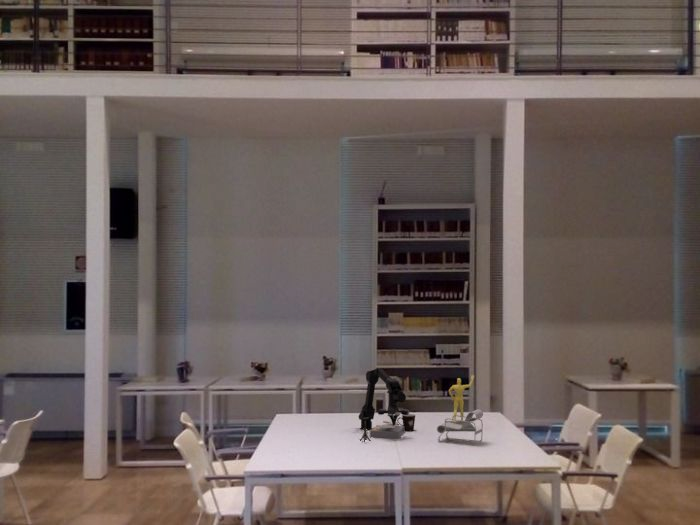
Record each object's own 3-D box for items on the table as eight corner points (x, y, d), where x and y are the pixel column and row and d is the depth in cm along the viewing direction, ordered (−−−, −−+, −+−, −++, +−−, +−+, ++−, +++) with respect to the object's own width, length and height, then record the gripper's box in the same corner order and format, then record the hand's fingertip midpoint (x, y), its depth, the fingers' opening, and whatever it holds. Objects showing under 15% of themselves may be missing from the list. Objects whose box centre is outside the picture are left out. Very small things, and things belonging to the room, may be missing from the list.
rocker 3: (382, 422, 515) (383, 420, 515) (384, 421, 519) (384, 419, 519) (398, 425, 512) (398, 423, 512) (399, 424, 516) (399, 422, 516)
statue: (472, 426, 541) (471, 373, 542) (477, 431, 521) (477, 376, 522) (442, 426, 540) (441, 373, 541) (446, 431, 521) (446, 376, 522)
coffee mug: (415, 429, 528) (415, 414, 528) (415, 431, 519) (415, 416, 519) (397, 429, 529) (397, 413, 529) (397, 431, 520) (397, 416, 521)
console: (370, 437, 500) (370, 428, 500) (377, 431, 522) (377, 422, 522) (398, 438, 496) (398, 429, 496) (404, 432, 517) (404, 423, 517)
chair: (476, 446, 474) (476, 412, 475) (436, 442, 486) (436, 409, 486) (483, 442, 486) (483, 409, 487) (444, 438, 498) (444, 406, 498)
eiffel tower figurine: (358, 439, 498) (358, 417, 498) (374, 439, 496) (374, 418, 496) (354, 443, 483) (354, 421, 483) (370, 444, 481) (370, 422, 481)
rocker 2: (378, 428, 501) (378, 426, 501) (380, 427, 505) (379, 425, 505) (394, 427, 499) (394, 425, 499) (395, 426, 503) (395, 424, 503)
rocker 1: (381, 427, 508) (380, 425, 508) (382, 426, 512) (382, 424, 512) (396, 424, 506) (395, 422, 506) (397, 423, 509) (397, 421, 510)
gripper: (376, 402, 496) (376, 427, 495) (405, 402, 492) (406, 428, 491) (379, 400, 507) (380, 424, 506) (408, 400, 502) (409, 425, 502)
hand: (394, 425), depth 501 cm, fingers closed, pressing on rocker 2
